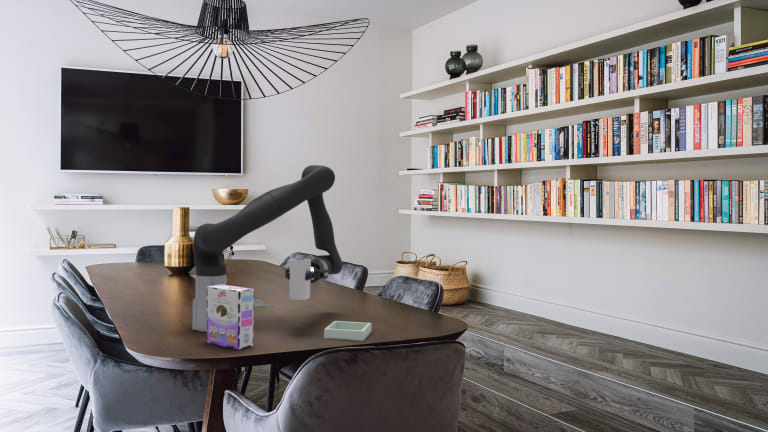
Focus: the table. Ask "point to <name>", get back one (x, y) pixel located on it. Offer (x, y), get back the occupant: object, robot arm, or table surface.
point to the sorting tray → (347, 331)
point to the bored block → (299, 279)
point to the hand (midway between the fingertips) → (297, 276)
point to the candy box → (230, 316)
